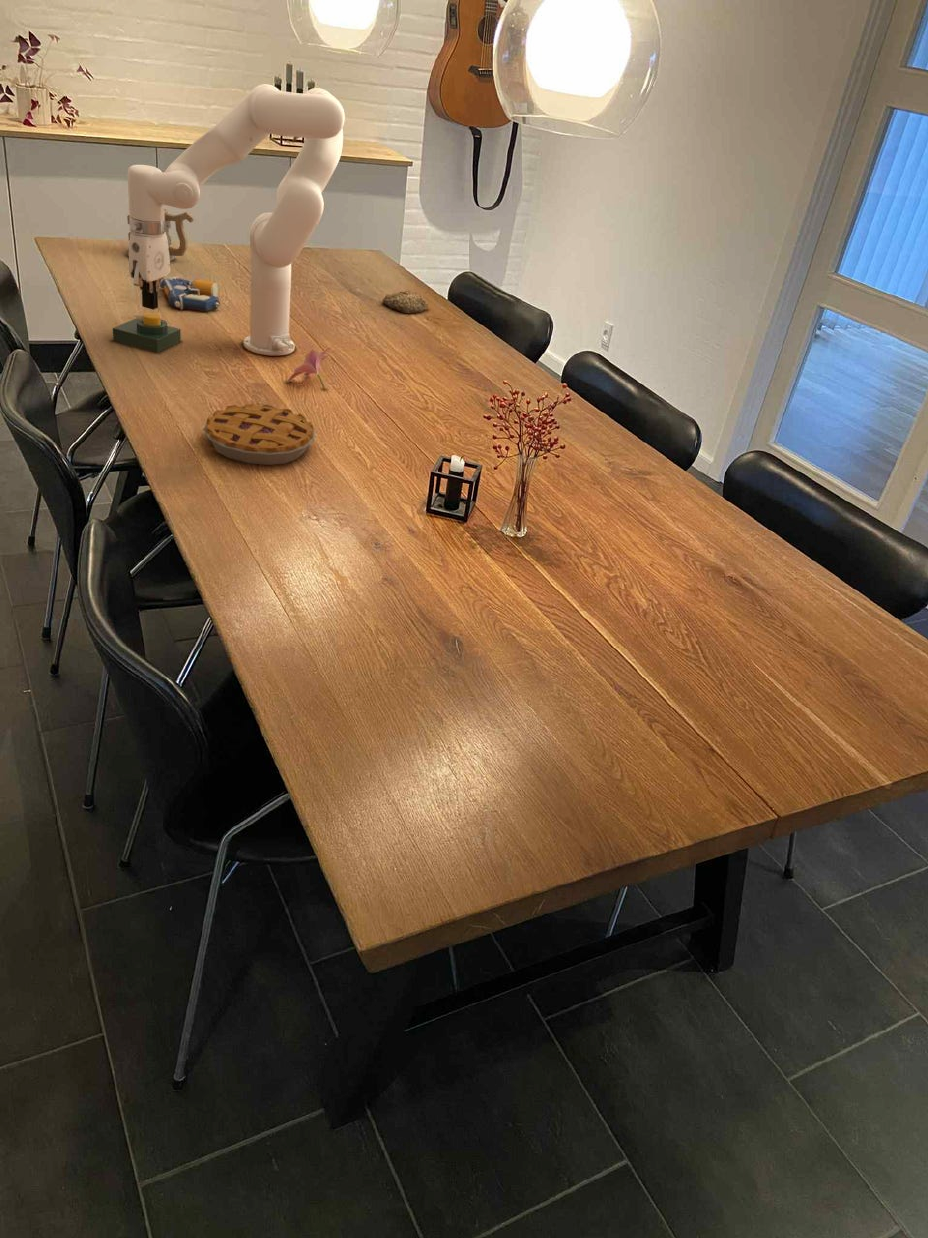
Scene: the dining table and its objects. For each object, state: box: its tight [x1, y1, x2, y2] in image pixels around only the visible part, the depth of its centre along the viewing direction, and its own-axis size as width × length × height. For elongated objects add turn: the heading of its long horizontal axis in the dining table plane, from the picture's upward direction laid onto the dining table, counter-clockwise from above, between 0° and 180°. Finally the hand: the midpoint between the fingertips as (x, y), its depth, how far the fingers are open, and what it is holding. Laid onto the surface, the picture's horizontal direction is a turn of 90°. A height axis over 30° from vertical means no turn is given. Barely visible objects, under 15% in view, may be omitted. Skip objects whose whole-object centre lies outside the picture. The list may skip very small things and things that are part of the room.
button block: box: [112, 317, 182, 354], centre depth 223 cm, size 12×10×5 cm
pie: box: [203, 403, 316, 466], centre depth 186 cm, size 22×22×5 cm
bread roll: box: [382, 290, 429, 314], centre depth 276 cm, size 13×12×5 cm
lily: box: [286, 346, 332, 390], centre depth 215 cm, size 12×12×10 cm
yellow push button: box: [142, 312, 162, 326], centre depth 221 cm, size 4×4×2 cm
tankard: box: [126, 208, 195, 262], centre depth 276 cm, size 20×13×15 cm, turn 81°
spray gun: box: [159, 275, 221, 312], centre depth 253 cm, size 21×4×15 cm
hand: (150, 307), depth 219 cm, fingers closed
